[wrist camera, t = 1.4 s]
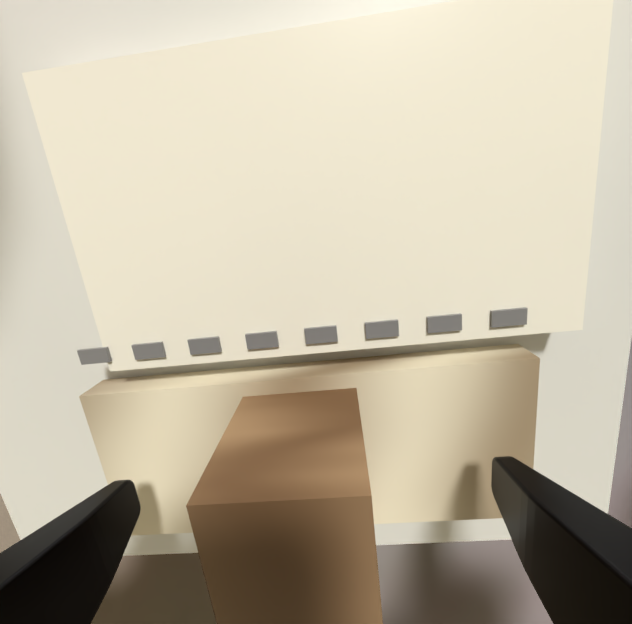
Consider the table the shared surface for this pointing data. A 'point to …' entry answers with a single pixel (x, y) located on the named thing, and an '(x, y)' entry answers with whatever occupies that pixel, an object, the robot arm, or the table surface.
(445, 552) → the table surface
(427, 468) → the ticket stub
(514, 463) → the robot arm
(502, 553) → the table surface
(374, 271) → the ticket board
